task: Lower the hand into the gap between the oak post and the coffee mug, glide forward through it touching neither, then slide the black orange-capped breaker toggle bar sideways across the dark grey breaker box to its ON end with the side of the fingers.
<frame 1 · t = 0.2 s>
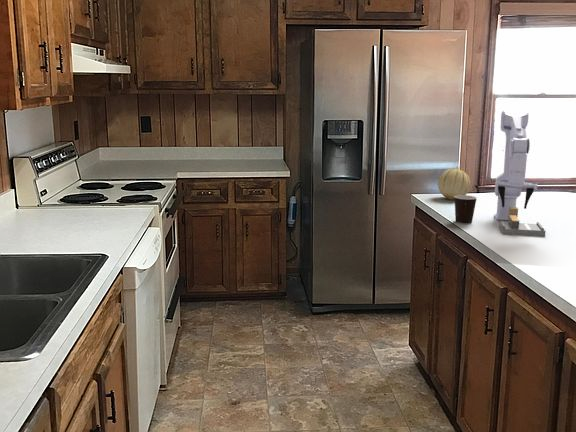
hand: (514, 207, 237), 10 cm above the countertop, tool pointing down, fingers open, 7 cm apart
cantaloupe: (453, 199, 304), on the countertop
oak post: (512, 225, 252), on the countertop
breaker box: (521, 231, 242), on the countertop
breaker toggle: (513, 221, 242), point 4 cm above the countertop, slide at 0.0 cm
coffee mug: (462, 222, 257), on the countertop
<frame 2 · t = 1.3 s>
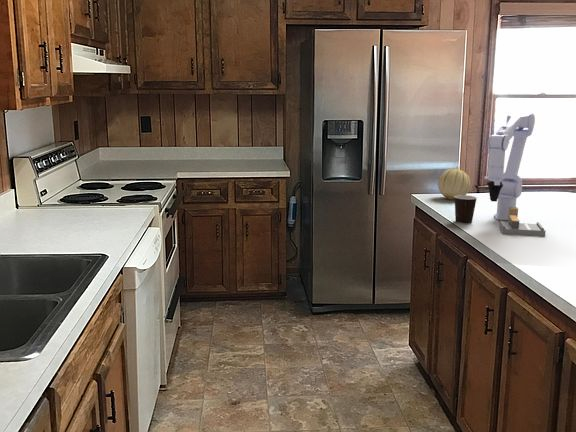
hand: (493, 200, 249), 10 cm above the countertop, tool pointing down, fingers closed
nothing on the countertop moved.
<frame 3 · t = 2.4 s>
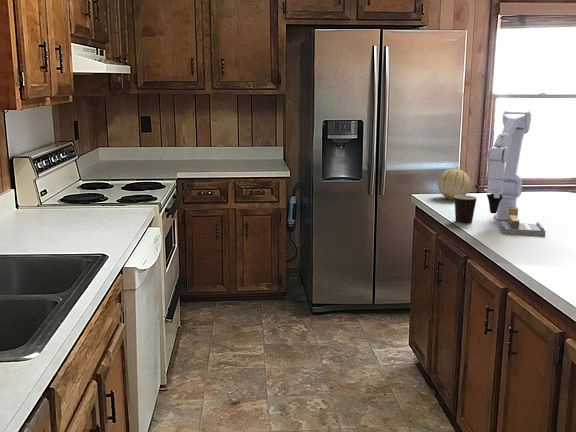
hand: (493, 213, 248), 5 cm above the countertop, tool pointing down, fingers closed
nothing on the countertop moved.
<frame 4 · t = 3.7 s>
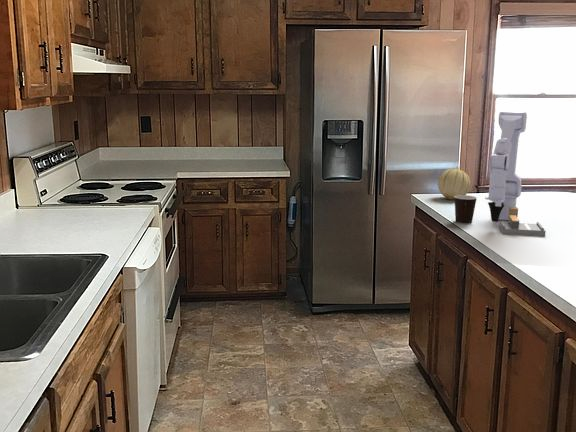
hand: (494, 221, 243), 3 cm above the countertop, tool pointing down, fingers closed
nothing on the countertop moved.
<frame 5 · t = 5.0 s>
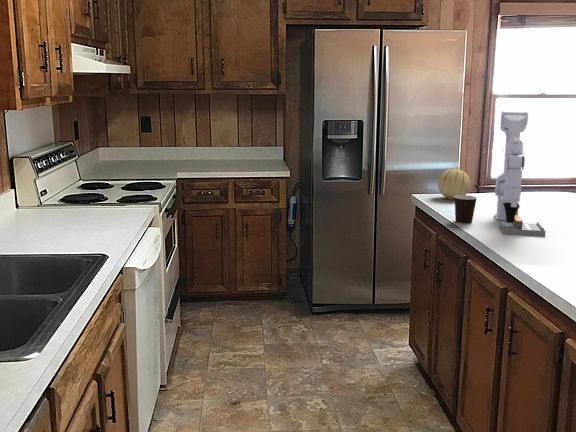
hand: (509, 222, 242), 3 cm above the countertop, tool pointing down, fingers closed, pressing on breaker toggle
breaker toggle: (517, 221, 242), point 4 cm above the countertop, slide at 1.2 cm, touching gripper
everything else where it was.
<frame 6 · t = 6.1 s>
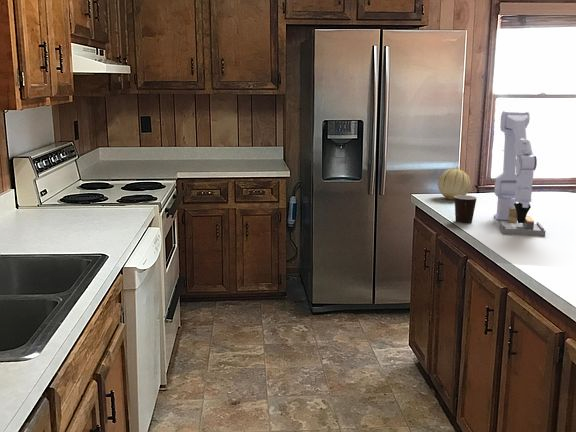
hand: (520, 222, 241), 3 cm above the countertop, tool pointing down, fingers closed, pressing on breaker toggle
breaker toggle: (528, 222, 241), point 4 cm above the countertop, slide at 5.2 cm, touching gripper
everything else where it was.
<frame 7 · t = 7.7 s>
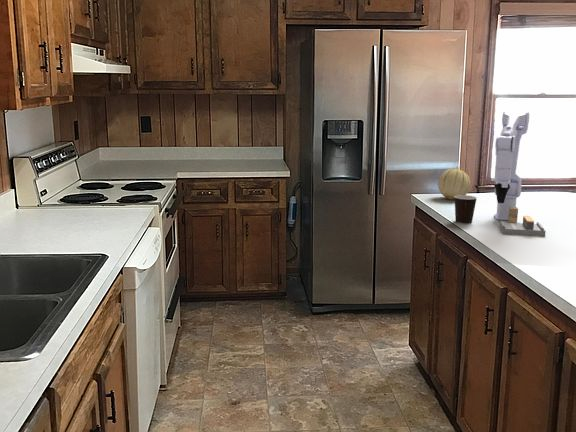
hand: (500, 202, 246), 10 cm above the countertop, tool pointing down, fingers closed
breaker toggle: (528, 222, 241), point 4 cm above the countertop, slide at 5.2 cm
everything else where it was.
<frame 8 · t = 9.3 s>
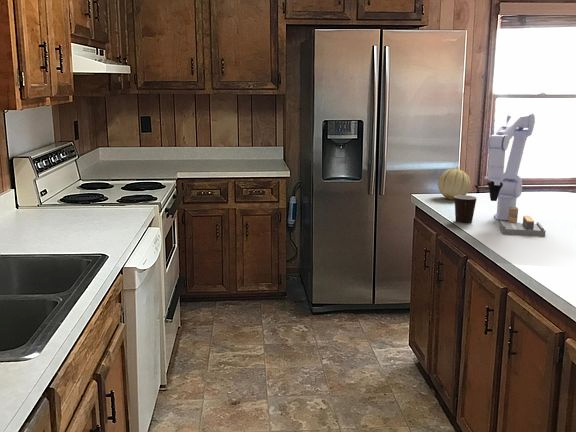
hand: (493, 200, 249), 10 cm above the countertop, tool pointing down, fingers closed
nothing on the countertop moved.
at the end: breaker toggle slide at 5.2 cm; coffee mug moved 0.2 cm from its start; breaker toggle touching nothing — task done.
